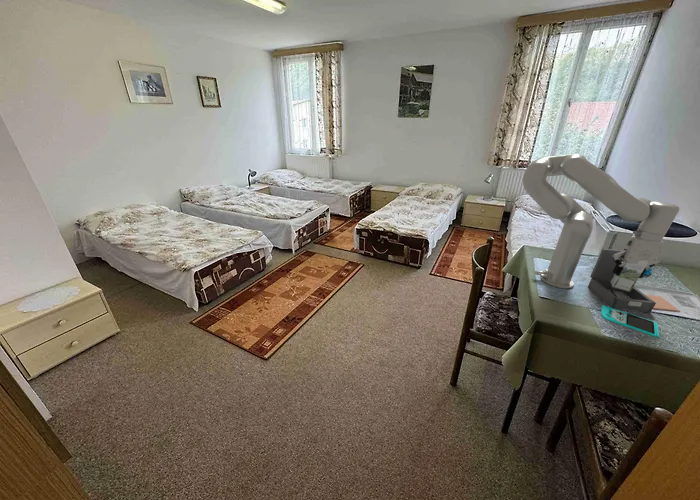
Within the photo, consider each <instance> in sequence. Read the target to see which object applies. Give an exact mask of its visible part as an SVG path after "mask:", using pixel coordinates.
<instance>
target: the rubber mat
mask: <svg viewBox="0 0 700 500" xmlns="http://www.w3.org/2000/svg"><path fill="white" fill-rule="evenodd" d="M645 295H646V296H647V297H649V298H650V299H651V300H653V301H654V302H655V303H656V304H655V306H654V308H653V309H652V310H659V309H661V311H668V310H669V311H670V312H678V311H679V312H681V310H680V309H678V308H677V307H676V306H674V305H673V304H672V303H670V302H669V301H667V300H666V299H665V298H663V297H661V296H660V295H652V294H651V295H650V294H645ZM679 312H678V313H679Z"/></svg>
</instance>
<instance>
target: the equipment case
mask: <svg viewBox="0 0 700 500" xmlns="http://www.w3.org/2000/svg"><path fill="white" fill-rule="evenodd" d="M621 251H622V249H613V248H602V249H601V251H600V254H599V256H598V258H597V260H596V263H595V265H594V267H593V269H592V272H591V274H590V275H589V277H590V281H589V282H588V285H587V288H588V289H590V290H591V291H592V292H593V293H594V294H595V295H596V296H597V297H598V298H599V299H600V300H601V301H603V303H604V304H605V305H606V306H608V307H611V308H614V309H617V310H621V311H631V312H642V313H650V314H651V312H652V311H653V310H654V309H653V308H654V306H655V304H656V303H655V302H654V301H653V300H651V299H650V298H649V297H647V296H646V295H647V294H645V293H643V292H642V291H641V290H639V289H638V288H637V287H635V285H634V286H633V288H632V290H631V291H630V292H628V291H624V290H620V289H617V288H613V287H612V284H611V279H612V278H613V276H614V273H613V269H614V268H615V266H616V263H615V261H614V259H613V257H612V255H613V254H616V253H618V252H621ZM619 259H620V257H619ZM611 291H615V292H617V291H618V292H622V293H623V294H624V295H625V296H627V297H628V298H623V297H617V296H616V295H614V293H613V292H611Z"/></svg>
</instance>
